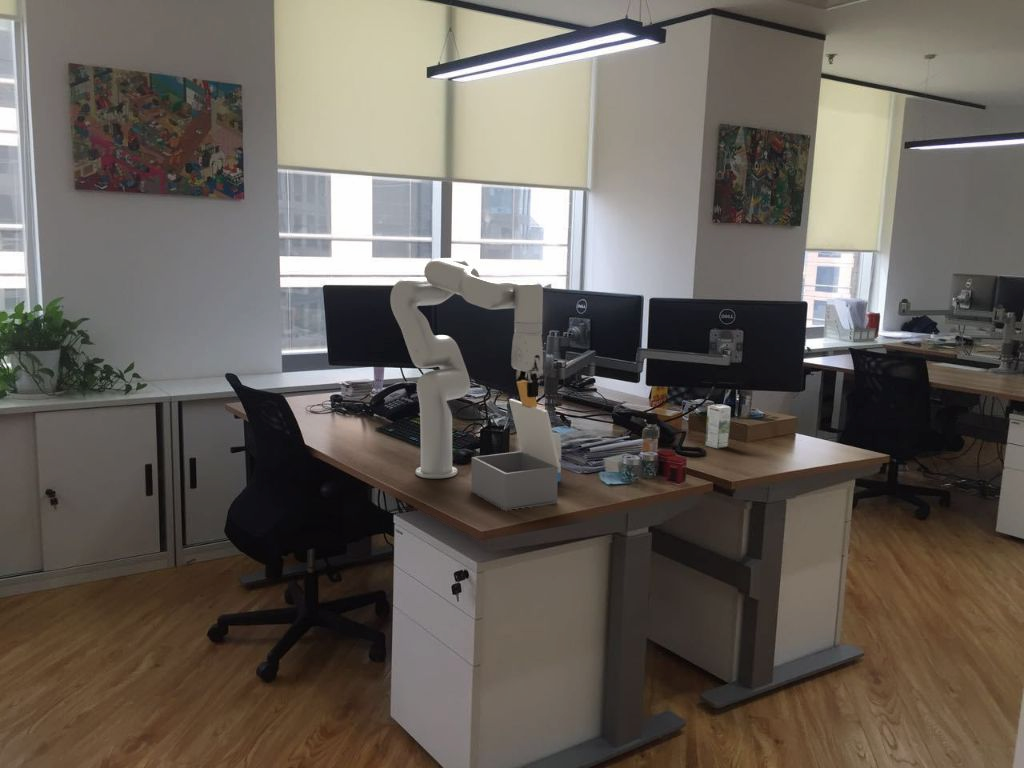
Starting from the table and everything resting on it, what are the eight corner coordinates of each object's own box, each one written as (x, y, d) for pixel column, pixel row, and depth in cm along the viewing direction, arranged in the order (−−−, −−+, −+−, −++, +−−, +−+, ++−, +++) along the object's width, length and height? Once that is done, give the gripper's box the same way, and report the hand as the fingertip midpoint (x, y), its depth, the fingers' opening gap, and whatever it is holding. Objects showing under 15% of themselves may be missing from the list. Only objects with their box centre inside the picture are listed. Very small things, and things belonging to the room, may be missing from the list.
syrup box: (716, 443, 302) (718, 403, 300) (729, 447, 297) (731, 406, 295) (704, 445, 299) (706, 405, 297) (717, 449, 294) (719, 407, 292)
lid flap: (503, 378, 240) (509, 375, 241) (521, 450, 247) (527, 448, 247) (539, 388, 223) (546, 386, 224) (557, 466, 229) (563, 463, 230)
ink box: (558, 477, 256) (559, 429, 254) (561, 482, 251) (561, 433, 249) (530, 478, 255) (531, 429, 253) (532, 482, 251) (533, 433, 248)
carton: (471, 491, 241) (471, 457, 239) (520, 484, 248) (521, 451, 247) (505, 511, 223) (505, 474, 222) (557, 502, 231) (557, 467, 229)
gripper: (501, 326, 236) (500, 391, 239) (531, 332, 221) (530, 401, 224) (525, 325, 239) (524, 389, 242) (556, 331, 224) (555, 399, 227)
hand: (527, 394), depth 233 cm, fingers closed on lid flap, 5 cm apart
